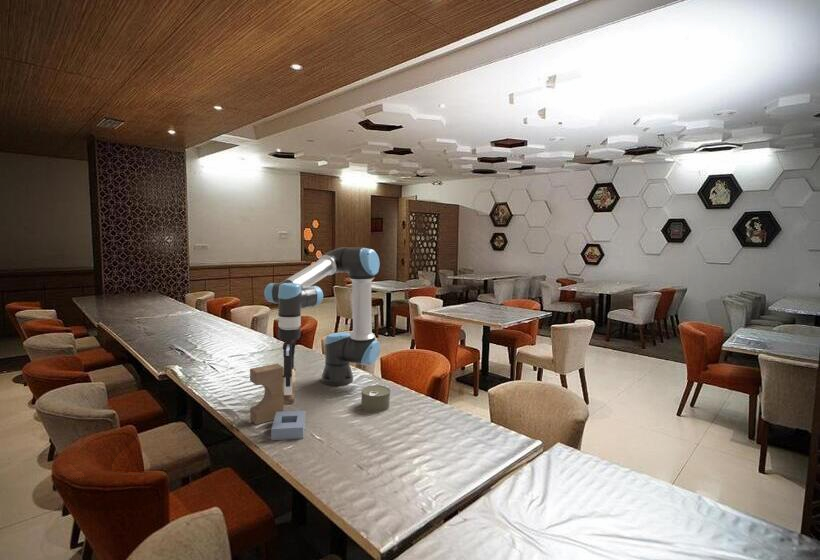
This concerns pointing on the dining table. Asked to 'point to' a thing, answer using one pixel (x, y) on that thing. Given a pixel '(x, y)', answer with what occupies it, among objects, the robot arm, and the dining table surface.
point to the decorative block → (267, 392)
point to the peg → (290, 398)
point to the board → (288, 425)
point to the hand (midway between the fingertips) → (288, 392)
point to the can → (375, 398)
